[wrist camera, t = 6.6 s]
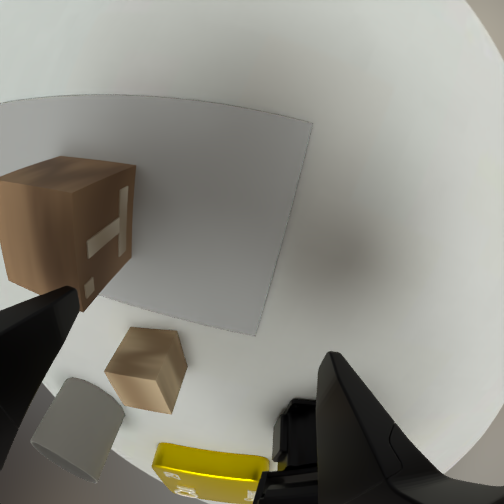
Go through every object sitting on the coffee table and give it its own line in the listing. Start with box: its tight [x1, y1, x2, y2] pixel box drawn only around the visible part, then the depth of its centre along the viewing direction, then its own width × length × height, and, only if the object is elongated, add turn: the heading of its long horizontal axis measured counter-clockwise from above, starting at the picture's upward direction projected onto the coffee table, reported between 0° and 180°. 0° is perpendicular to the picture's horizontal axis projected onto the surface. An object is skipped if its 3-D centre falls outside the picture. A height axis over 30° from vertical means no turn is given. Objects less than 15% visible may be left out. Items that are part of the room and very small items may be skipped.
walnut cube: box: [0, 156, 136, 312], centre depth 13 cm, size 6×6×6 cm
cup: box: [30, 377, 125, 483], centre depth 23 cm, size 8×8×10 cm
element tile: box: [152, 443, 269, 504], centre depth 31 cm, size 15×15×5 cm
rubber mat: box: [0, 95, 313, 336], centre depth 16 cm, size 23×14×1 cm, turn 78°
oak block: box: [104, 327, 188, 414], centre depth 19 cm, size 4×4×5 cm
